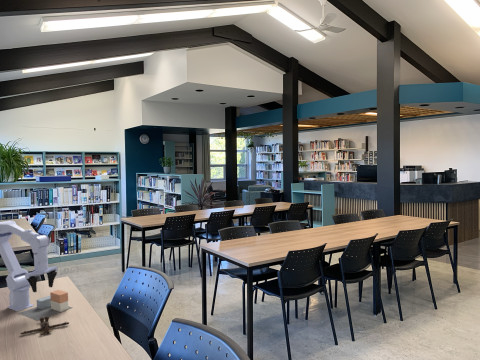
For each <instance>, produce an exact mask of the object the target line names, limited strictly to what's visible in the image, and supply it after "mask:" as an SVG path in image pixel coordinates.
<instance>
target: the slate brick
mask: <svg viewBox="0 0 480 360" xmlns="http://www.w3.org/2000/svg"><path fill="white" fill-rule="evenodd" d="M50 306H51V297H50V295H47V296H45V297H41V298H39V299H36V307H37V308H38V309H41V310H42V309H45V308H47V307H50Z"/></svg>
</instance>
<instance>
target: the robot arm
mask: <svg viewBox="0 0 480 360" xmlns="http://www.w3.org/2000/svg"><path fill="white" fill-rule="evenodd" d="M13 235H16V236H18V237H20V239H21V241H23V242H24V243H27V244H28V245H29V246H30V248H31V251H32V253H33V263H34V264H33V265H34V266H33V267H34V270H33V271H31V272H29V271H28V270H27V269H24V268H22V267H21V265H20V263H19V261H18V258H17V256H16V254H15V252H14V250H13V248H12V246H11V244H10V241H9V240H10V239H11V238H12V237H13ZM50 242H51V241H50V238H49V236H48V235H47V234H42V235H41V234H39V233H38V232H35V231H33V229H31V228H30V229H24V228H22V226H19V225H18V224H17V222H16V221H14V220H12V219H9V220H3V221H0V256H1V258H2V260H3V263H4V265H5V267H6V269H7V271H8V275H7V276H6V278H5V280H6V288H7V289H8V290H9V292H8V293H9V294H8V302H9V305H8V306H7V308H8V309H10V310H12V311H14V312H19V311H23V310H25V309H28V308H32V307H34V304H32V303H31V299H30V288H31V290H32V292H33V293H37V292H38V290H37V288H38V287H37V284H38V283H37V281H38V278H37V277H38V276H42V275H45V274H46V275H47V280H48V288H53V286H54V281H55V278H56V276H57V274H58V266H56V265H55V266H50V267H49V257H48V247H49V245H50Z"/></svg>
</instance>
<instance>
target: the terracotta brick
mask: <svg viewBox="0 0 480 360" xmlns="http://www.w3.org/2000/svg"><path fill="white" fill-rule="evenodd" d="M49 296H50V297H51V301H54V302H57V303H63V302H66V301H68V302H69V292H67V291H64V290H59V289H57V290H53V291H50V293H49Z"/></svg>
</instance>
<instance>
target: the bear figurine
mask: <svg viewBox="0 0 480 360" xmlns="http://www.w3.org/2000/svg"><path fill="white" fill-rule="evenodd" d="M49 320H50V317H47V316H46V317H45V318H44V317H43V318H42V317H41V318H40V320H39V323H40V326H41V327H39V328H38V327H37V328H34V329H30V330H23V332H20V335H27V334H32V333H35V332H37V333H38V332H39V334H40V335H43V334H44V335H48V334H49V333H51V332H53V331H54V330H53V329H54V328H58V327H63V326H67V325H70V322H68V321H65V322H62V323H58V324H53V325H52V324H51V325H50V323H49Z"/></svg>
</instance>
